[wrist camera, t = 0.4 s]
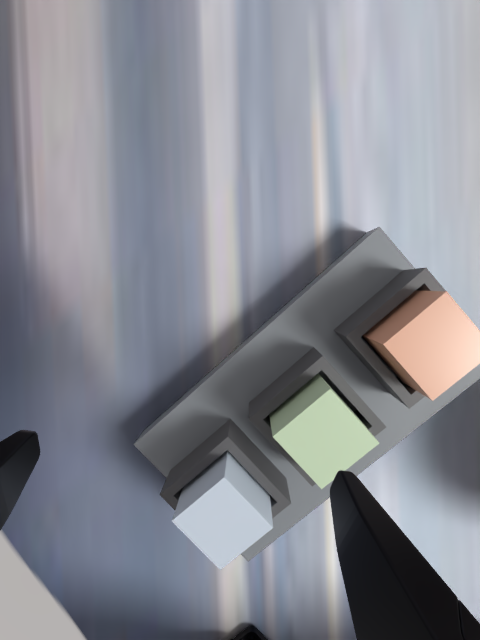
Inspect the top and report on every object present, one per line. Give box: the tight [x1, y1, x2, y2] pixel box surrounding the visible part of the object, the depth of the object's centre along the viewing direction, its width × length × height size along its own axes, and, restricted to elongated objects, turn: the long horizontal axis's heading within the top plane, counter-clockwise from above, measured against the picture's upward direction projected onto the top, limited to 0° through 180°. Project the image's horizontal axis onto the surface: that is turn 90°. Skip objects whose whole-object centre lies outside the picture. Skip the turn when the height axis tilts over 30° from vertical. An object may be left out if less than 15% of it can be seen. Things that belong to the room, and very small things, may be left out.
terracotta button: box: [362, 290, 480, 401], centre depth 17 cm, size 4×4×3 cm
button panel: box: [134, 227, 480, 561], centre depth 20 cm, size 12×22×4 cm, turn 132°
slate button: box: [172, 450, 273, 570], centre depth 18 cm, size 4×4×3 cm
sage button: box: [269, 373, 379, 489], centre depth 17 cm, size 4×4×3 cm
